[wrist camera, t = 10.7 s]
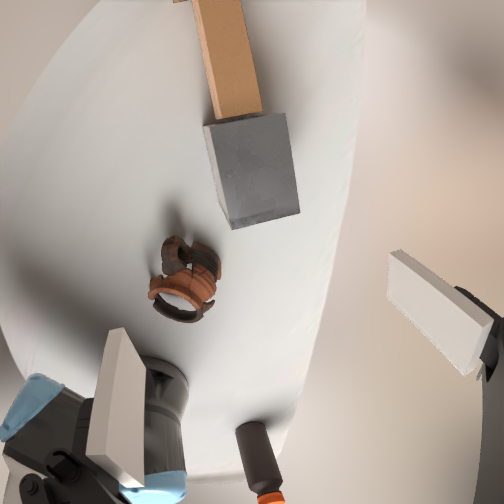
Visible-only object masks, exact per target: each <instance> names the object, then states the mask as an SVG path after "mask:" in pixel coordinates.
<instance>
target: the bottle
mask: <svg viewBox="0 0 504 504" xmlns="http://www.w3.org/2000/svg"><path fill="white" fill-rule="evenodd" d="M235 434H236V438H237V443H238V447H239V451H240V455H241V459H242V463H243V467H244V471H245V475H246V478H247V482H248V486H249V488H250V490H251V491H253V492H255V493H257V494H258V496H257V500H258V503H259V504H284V503H285V500H284V497H283V495H282V493H281V491H279V487H280V486H281V484H282V482H283V480H282V477H281V474H280V471H279V468H278V465H277V462H276V459H275V456H274V453H273V450H272V447H271V444H270V441H269V438H268V435H267V431H266V428H265V426H264V425H263V424H261V423H258V422H250V423H246V424H243V425H241V426H240V427H238V428H237V430H236V433H235Z"/></svg>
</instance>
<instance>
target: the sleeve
mask: <svg viewBox="0 0 504 504" xmlns="http://www.w3.org/2000/svg"><path fill="white" fill-rule="evenodd" d="M202 127H203V131H204V136H205V141H206V145H207V150H208V154H209V159H210V163H211V168H212V172H213V177H214V181H215V186H216V190H217V195H218V199H219V203H220V206H221V208H222V210H223V212H224V214H225V216H226V219H227V221H228V223H229V225H230V227H231V230H234V229H238V228H242V227H246V226H250V225H254V224H258V223H262V222H266V221H270V220H274V219H278V218H282V217H286V216H291V215H295V214H299V213H300V208H299V200H298V193H297V186H296V179H295V172H294V166H293V159H292V153H291V146H290V140H289V134H288V128H287V122H286V116H285V113H277V114H265V115H256V116H250V117H245V118H240V119H234V120H229V121H224V122H220V123H215V124H210V125H206V126H202Z"/></svg>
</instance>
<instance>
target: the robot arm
mask: <svg viewBox="0 0 504 504" xmlns="http://www.w3.org/2000/svg"><path fill="white" fill-rule="evenodd" d="M388 269H389V270H388V288H387V298H388V299H389V300H390V301H391V302H392V303H393V304H394V305H395V306H396V307H397V308H398V309H399V310H400V311H401V312H402V313H403V314H404V315H405V316H406V317H407V318H408V319H409V320H410V321H411V322H412V323H413V324H414V325H415V326H416V327H417V328H418V329H419V330H420V331H421V332H422V333H423V334H424V335H425V336H426V337H427V338H428V339H429V340H430V341H431V342H432V343H433V344H434V345H435V346H436V347H437V348H438V349H439V350H440V352H441V353H442V354H443V355H444V356H445V357H446V358H447V359H448V360H449V361H450V362H451V363H452V364H453V365H454V366H455V367H456V368H457V370H458V371H459V372H460V373H461V374H462V375H463V376H465V375H466V374H468V373H469V372H471V371H472V370H474V369H475V368H476V366H477V363H478V361H479V358H480V359H481V360H482V361H483V364H482V367H481V369H480V371H479V373H478V376H477V380H479V378H480V376H481V374H482V388H483V422H482V441H481V453H480V463H479V472H478V480H477V486H476V492H475V497H474V502H473V504H504V318H502V317H500V316H499V315H498V314H497V313H495V312H494V311H493V310H492V309H490V308H489V307H488V306H487V305H485V304H484V303H482V302H480V300H479V299H478V298H476V297H474V296H473V295H472V294H471V293H470V292H468V291H467V290H465V289H463V288H460V287H458V286H455V287H452V286H451V285H450V284H448V283H447V282H446V281H444V280H443V279H442V278H440V277H439V276H438V275H436V274H435V273H434V272H432V271H431V270H429V269H428V268H426V267H425V266H424V265H422V264H421V263H420V262H418V261H417V260H415V259H414V258H413V257H411V256H410V255H408V254H407V253H405V252H404V251H403V250H401V249H400V250H397V251H394V252H391V253H389V268H388ZM187 401H188V385H187V381H186V379H185V377H184V375H183V374H182V373H181V372H180V371H179V370H178V369H177V368H175V367H174V366H173V365H171V364H169V363H167V362H165V361H162V360H159V359H156V358H151V357H140V356H139V355H138V353H137V351H136V350H135V348H134V346H133V344H132V342H131V340H130V338H129V336H128V335H127V333H126V331H125V329H124V327H122V328H117V329H113V330H109V333H108V337H107V341H106V345H105V349H104V354H103V358H102V362H101V367H100V372H99V376H98V381H97V386H96V391H95V396H94V398H87V399H86V398H85V397H83V396H81V395H79V394H77V393H75V392H74V391H72V390H70V389H68V388H67V387H65V385H64V384H60V383H58V382H56V381H54V380H52V379H50V378H49V377H47V376H45V375H43V374H40V373H34V374H32V375H30V376H29V377H28V379H27V380H26V382H25V383H24V385H23V387H22V389H21V390H20V392H19V393H18V395H17V397H16V399H15V400H14V402H13V404H12V406H11V407H10V409H9V411H8V413H7V415H6V416H5V418H4V421H3V422H2V424H1V426H0V440H1V442H5V447H4V450H3V453H2V455H3V457H4V460H5V462H6V464H7V465H8V468H9V471H10V472H9V477H8V481H7V485H6V489H5V494H4V499H3V504H175V503H177V502H179V501H180V500H182V499H183V498H184V497H185V495H186V492H187V485H186V477H187V472H186V468H185V460H184V452H183V444H182V435H181V423H180V422H181V419H182V416H183V413H184V410H185V407H186V404H187Z"/></svg>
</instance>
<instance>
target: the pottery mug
mask: <svg viewBox="0 0 504 504" xmlns="http://www.w3.org/2000/svg"><path fill="white" fill-rule="evenodd" d="M161 257H162V261H163V263H162V271H163V273H164V274H165V275H168V276H167V277H166V278H163V275H159V276H157V277H156V278H155V279H154V278H153V277H152V278H151V280H150V291H149V293H148V298H149V299H151V300H153V299H155V302H154V304H153V307H154V308H155V309H156V310H157V311H158V312H159V313H161V314H162V315H164V316H166V317H168V318H170V319H173V320H175V321H178V322H183V323H194V322H197V321H199V320H200V319H201V318H202V317H204V316H203V313H205V312H206V311H208V310H209V309H210V308H211V307H212V306H213V305H214V302H215V300H212V301H211V302H208V303H207V302H205V301H207V300H208V299H209V298H211V297H212V296H213V295H215V291H216V285H215V282H217V280H220V278H221V263H220V260H219V258H218V257H217V255H216V254H215V253H214V252H213V251H212V250H211V249H209V248H208V247H206V246H205V245H202V244H199V243H196V242H194V243H193V245H192V246H191V248H190V247H189V246H188V245H186V243H185V242H184V240H183V239H182V238H180V237H178V236H172V237H169V238H167V239H166V240H165V242H164V243H163V245H162V249H161ZM189 263H192V270H190V269H189V268H186V267H187V264H189ZM161 292H167V293H171V294H175V295H178V296H180V297H182V298H184V299H185V300H187V301H189V302H190V303H191V304H192V305H193V306H194V307H195V309H196V311H186V310H179V309H178V308H177V307H175V306H172V305H170V304H168V303H167V302H166V301H164V300H163V298H162V297H161V296H160V295H159V293H161Z"/></svg>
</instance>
